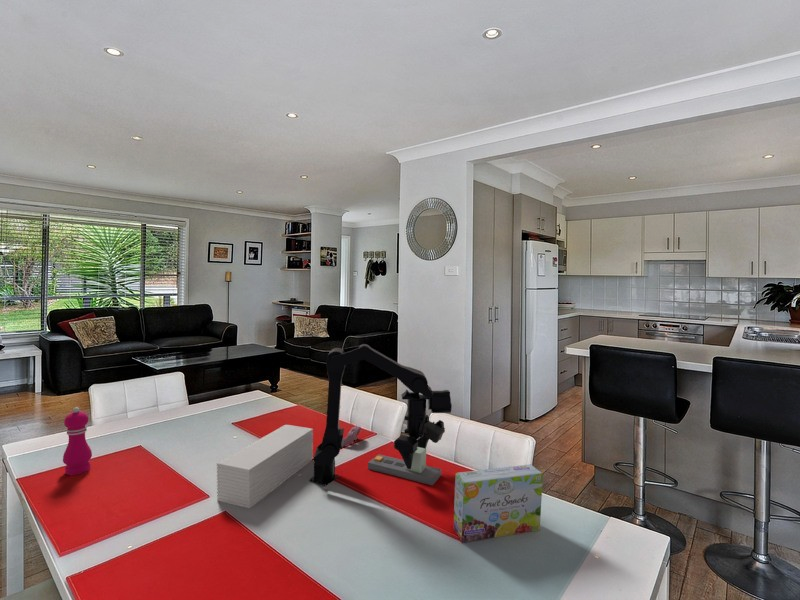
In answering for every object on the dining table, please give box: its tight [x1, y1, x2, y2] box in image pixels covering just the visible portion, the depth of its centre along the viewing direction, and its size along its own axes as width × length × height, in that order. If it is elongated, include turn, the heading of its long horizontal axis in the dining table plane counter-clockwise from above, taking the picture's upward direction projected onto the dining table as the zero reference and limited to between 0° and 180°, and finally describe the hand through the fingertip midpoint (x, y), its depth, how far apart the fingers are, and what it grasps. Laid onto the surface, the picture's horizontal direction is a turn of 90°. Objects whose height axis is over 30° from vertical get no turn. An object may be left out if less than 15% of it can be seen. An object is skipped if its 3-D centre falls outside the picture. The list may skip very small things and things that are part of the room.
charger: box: [406, 447, 427, 473], centre depth 131 cm, size 4×5×8 cm
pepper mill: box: [62, 406, 93, 476], centre depth 132 cm, size 7×7×20 cm
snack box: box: [453, 464, 544, 544], centre depth 105 cm, size 21×6×15 cm, turn 106°
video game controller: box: [343, 425, 362, 447], centre depth 158 cm, size 10×5×7 cm, turn 169°
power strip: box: [367, 454, 442, 486], centre depth 133 cm, size 7×22×4 cm, turn 63°
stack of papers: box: [216, 424, 314, 509], centre depth 130 cm, size 32×11×11 cm, turn 161°
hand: (415, 462), depth 131 cm, fingers open, 9 cm apart
